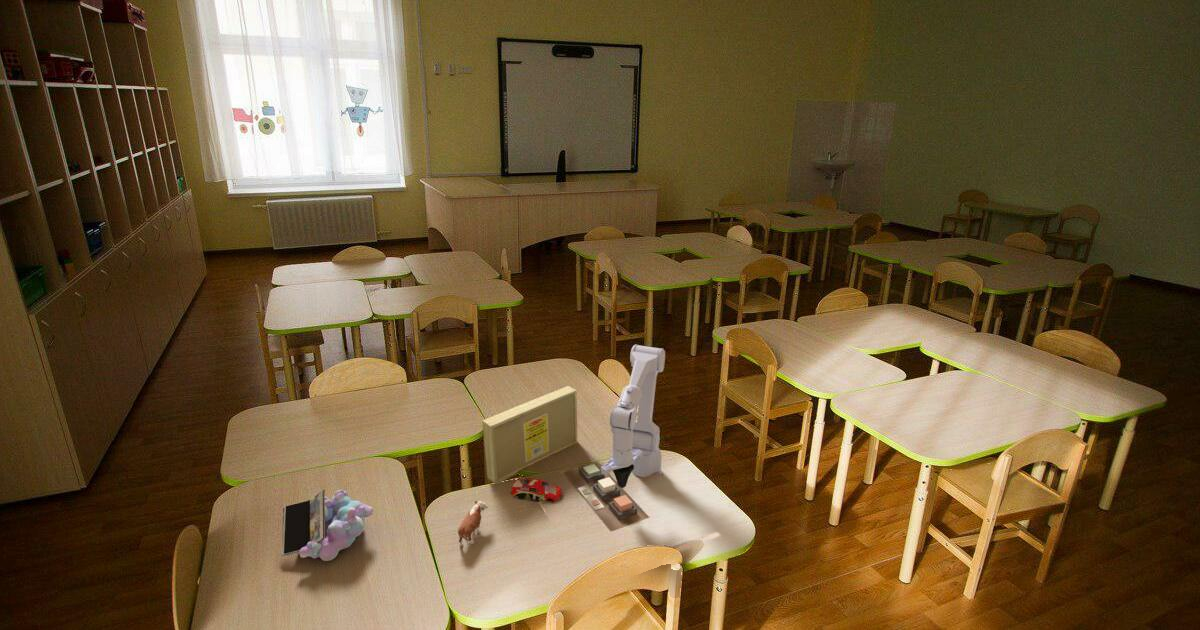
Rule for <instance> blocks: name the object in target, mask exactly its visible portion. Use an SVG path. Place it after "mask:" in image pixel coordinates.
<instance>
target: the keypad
mask: <svg viewBox="0 0 1200 630" xmlns="http://www.w3.org/2000/svg"><path fill="white" fill-rule="evenodd" d="M592 464H595V466H596V467H597V468H598V469H599V470H600V473H598V474H595V475H592V476H589V477H588V476H587V475H586V474H585V472H584V471H583V467H586V466H589V465H592ZM602 466H603V465H602V464H601V463H600V462H599V461H595V462H592V463H589V464H586V465H585V464H584V465H583V466H582V465H581V466H578V467H576V468H572V469H569V470H567V471H566V470H565V471H562V474H563V475H564V476H565V477H566V479H567V480H568V481H569V482H570V484H571V485H572V486H573V487H574V489H575V490H576V491H577V492H578V494H580V496H581V498H583V500H584V501H585V502H586V503H587V504H588V506H589V507H590V508H591V509H592V511H593V512H594V513H595V514H596V515H597V517H598V518H599V520H601V522H602V523H603V524H604V526H605V527H606V528H607V529H608V530H609V531H610V532H613V531H616V530H618V529H621V528H624V527H627V526H630V525H632V524H635V523H638V522H641V521H642V520H643V521H644V520H646V519H648V518H650V516H649V515H648V514H647V512H645V510H643V509H642V507H640V505H639V504H638V503H637V502H636V501H635V500H634V499H633V498H632V497H631V495H629V494H628V493H627V491H626V490H625V489H624V488H621V487H619V486H618V484H617V480H616V479H614V477H613V476H612V475H611V474H610V472H608V475H606V476H605V475H603V474H602V473H601V467H602ZM608 477H609V478H610V479H611V480H612V481H613V482H614V483H615V490H614V491H611V492H608V493H605V494H603V493H602V492H601V490H600V489H599V488H598V481H599V480H602V479H605V478H608ZM623 495H626V496H627V497H628V498H629V499H630V500H631V501H632V509H630V510H627V511H624V512H621V513H620V512H619V511H618V510H617V509H616V508H615V506H614V499H615V498H618V497H621V496H623Z"/></svg>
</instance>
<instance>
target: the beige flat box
mask: <svg viewBox="0 0 1200 630" xmlns="http://www.w3.org/2000/svg"><path fill="white" fill-rule="evenodd" d="M577 394H578V393H577V389H575V388H573V387H571V386H569V385H566V386H564V387H562V388H559V389H556V390H555V391H552V392H550V393H547V394H544V395H542V396H539V397H537V398H535V399H531V400H529V401H527V402H523V403H521V404H519V405H516V406H515V407H512V408H509V409H507V410H504V411H502V412H500V413H498V414H495V415H492V416H489V417H487V418H485V419H483V420H482V432H483V444H484V454H485V462H486V463H485V465H486V475H487V479H488V480H489V481H490V482H492V483H493V484H494V485H497V484H500V483H502V482H504V481H505V480H508V479H509V478H512V477H513V476H515V475H517V474H519V473H520V472H519V471H521V470H523V469H525V467H526V468H527V467H528V466H531V465H534V464H535V463H537V462H539V461H542V460H543V459H546V458H547V457H549V456H552V455H553V454H556V453H558V452H560V451H562V450H564V449H566V448H569V447H571V446H572V445H575V444H577V443H578V442H579V441H578V407H577V406H578V405H577V404H578V402H577V401H578V396H577Z"/></svg>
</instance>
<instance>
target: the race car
mask: <svg viewBox="0 0 1200 630" xmlns="http://www.w3.org/2000/svg"><path fill="white" fill-rule="evenodd" d="M517 479H518V480H517ZM517 479H516V480H515V481H514V482H513V484H512V485H511V486H512V487H511V489H510V493H511V495H512V497H514V498H517V499H519V500H527V501H533V502H540V501H546V502H552V503H555V502H558V501H560V500H561V499H562V498H563V496H564V492H563V490H562V487H560V486H559V485H555V484H551V483H549V482H548V481H547V480H542V479H538V478H537V479H536V478H530V477H529V478H528V477H527V478H517Z"/></svg>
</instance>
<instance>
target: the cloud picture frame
mask: <svg viewBox="0 0 1200 630" xmlns="http://www.w3.org/2000/svg"><path fill="white" fill-rule="evenodd" d="M325 490H326V489H325V487H324V488H322V489H321V490H320V491H317V493H316V494H314V495H313V496H312V497H311V498H310V499H308V500H304V501H300V502H296V503H291V504H287V505H284V506H282V507H281V544H280V545H281V550H280V551H281V552H280V553H281V554H280V555H281V556H280V557H281V558H285V557H289V556H293V555H297V554H299V556H300V558H303V559H304V558H308V557H311V558H312V559H317V558H320V559H321V560H322V561H324V562H328V561H329V562H330V561H333V559H335V558H336V557H337V556H338V554H339V552H340V551H342V550H344V549H347V548H350V547H351V545H352V544H353V543H354V541H355V540H356V538H357V537H359V536H360V535H361V534H362V533H363V531H364V530H365V525H366V523H365V521H366V520H365V519H366V518H369V517H370V516H372V515H373V513H374V508H373V507H372V505H367V504H365V503H362V502H360V501H359V500H352V499H351V497H349V496H348V495H349V494H348V492H347V491H345V490H343V489H337V490H336V491H335V492H334V493H335V494H334V495H333V496H332V497H331V499H329V497H327V496H325V495H326V494H325V493H326V491H325Z"/></svg>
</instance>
